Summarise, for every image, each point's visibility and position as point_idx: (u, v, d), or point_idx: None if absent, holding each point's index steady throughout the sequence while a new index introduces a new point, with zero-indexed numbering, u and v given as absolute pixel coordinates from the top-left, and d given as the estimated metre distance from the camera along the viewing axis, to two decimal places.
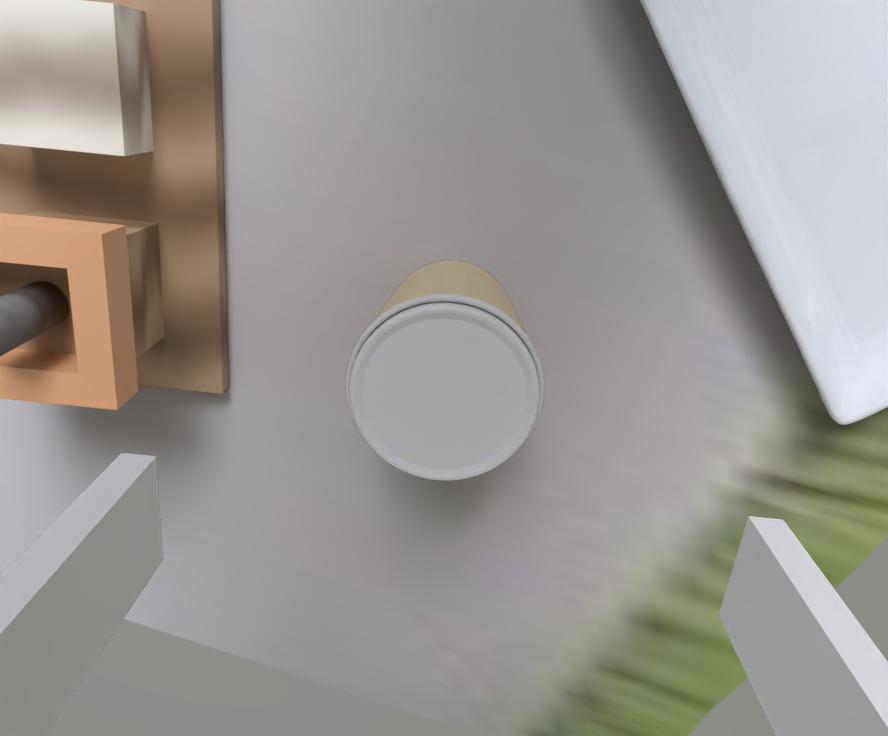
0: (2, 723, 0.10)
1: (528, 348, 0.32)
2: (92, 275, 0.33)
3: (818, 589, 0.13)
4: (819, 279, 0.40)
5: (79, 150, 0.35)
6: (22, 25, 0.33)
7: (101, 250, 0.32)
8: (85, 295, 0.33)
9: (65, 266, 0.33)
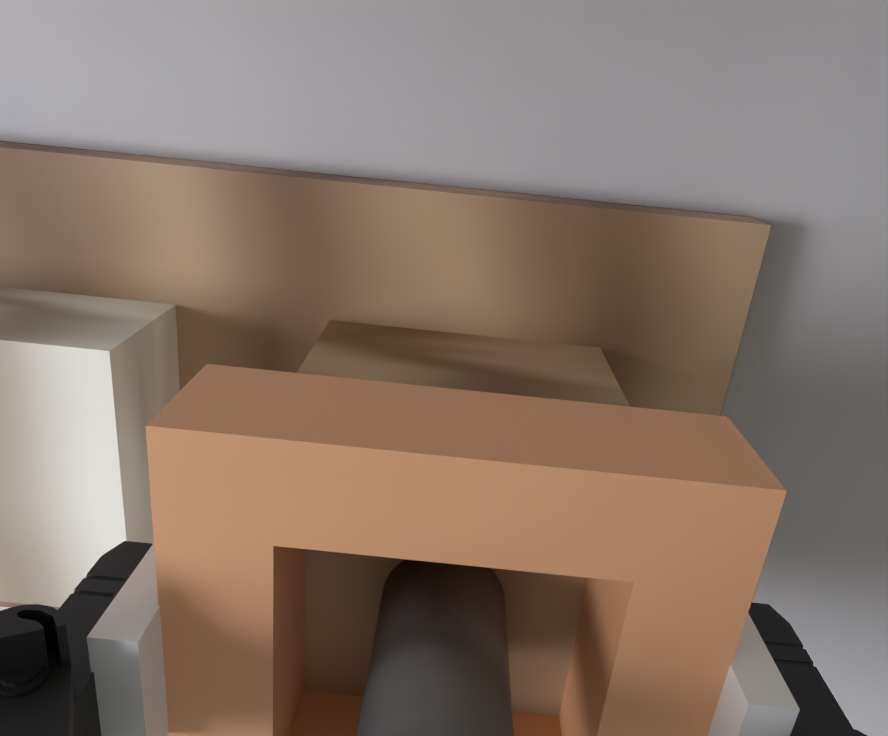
0: None
1: None
2: (289, 478, 0.10)
3: None
4: None
5: (115, 447, 0.15)
6: None
7: (200, 435, 0.10)
8: (358, 511, 0.10)
9: (267, 548, 0.10)
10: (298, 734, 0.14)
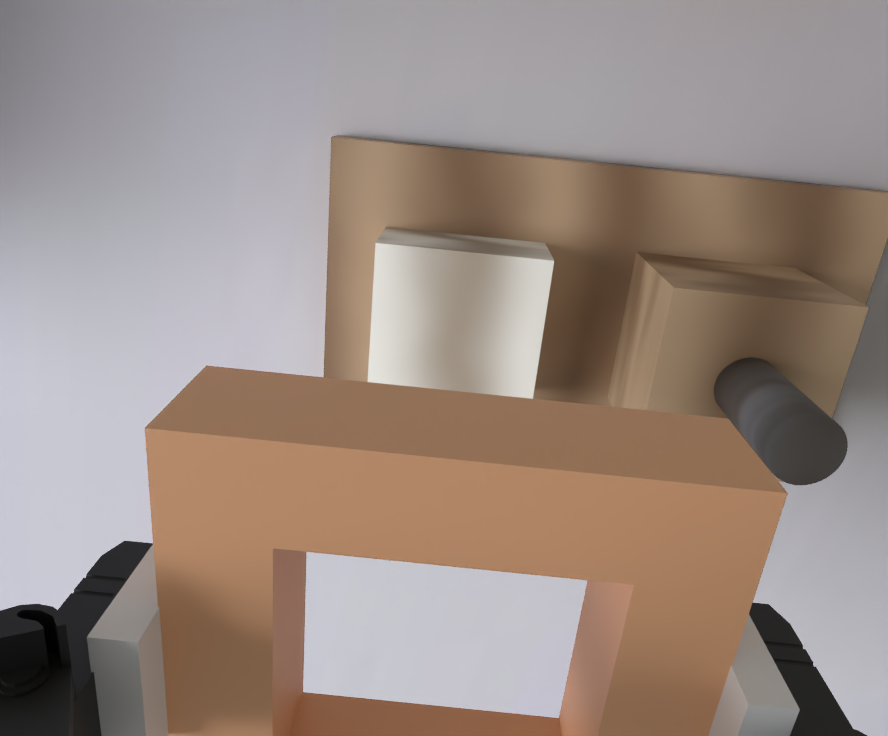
0: None
1: None
2: (288, 480, 0.10)
3: None
4: None
5: (544, 317, 0.28)
6: (401, 354, 0.29)
7: (199, 438, 0.10)
8: (358, 513, 0.10)
9: (266, 551, 0.10)
10: None
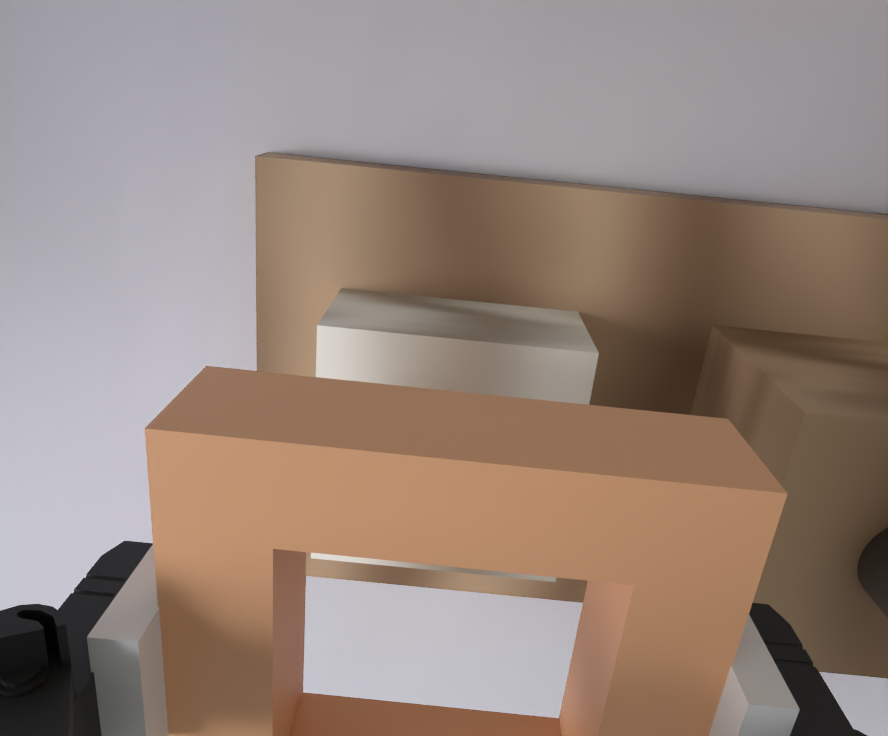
0: None
1: None
2: (288, 480, 0.10)
3: None
4: None
5: None
6: None
7: (199, 438, 0.10)
8: (358, 514, 0.10)
9: (266, 551, 0.10)
10: None
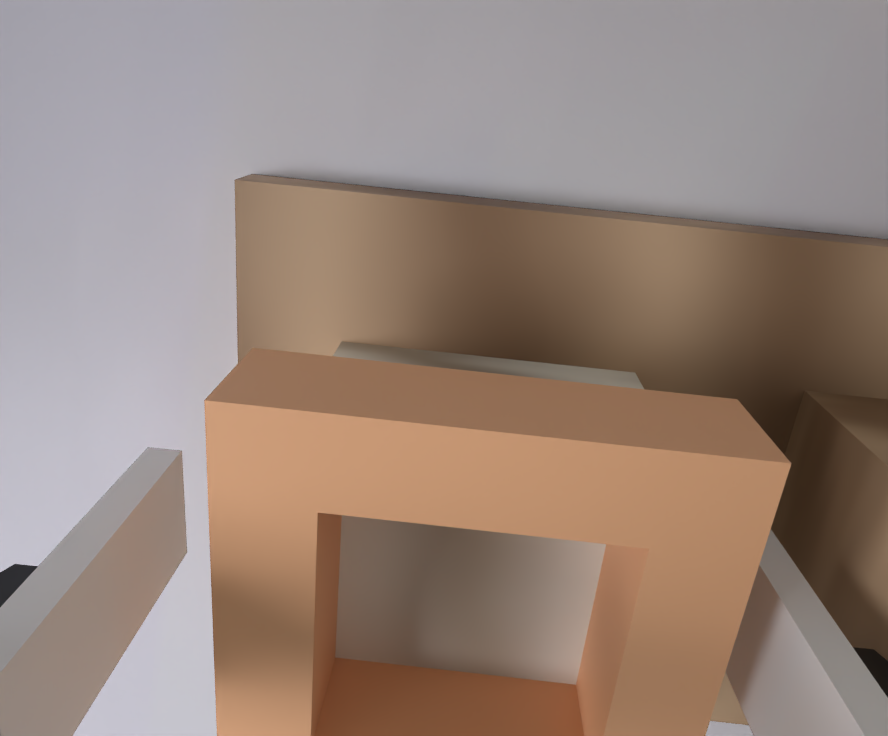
0: (43, 707, 0.11)
1: None
2: (334, 449, 0.11)
3: (787, 575, 0.13)
4: None
5: None
6: (364, 599, 0.15)
7: (254, 408, 0.11)
8: (396, 480, 0.11)
9: (311, 515, 0.11)
10: (332, 696, 0.14)
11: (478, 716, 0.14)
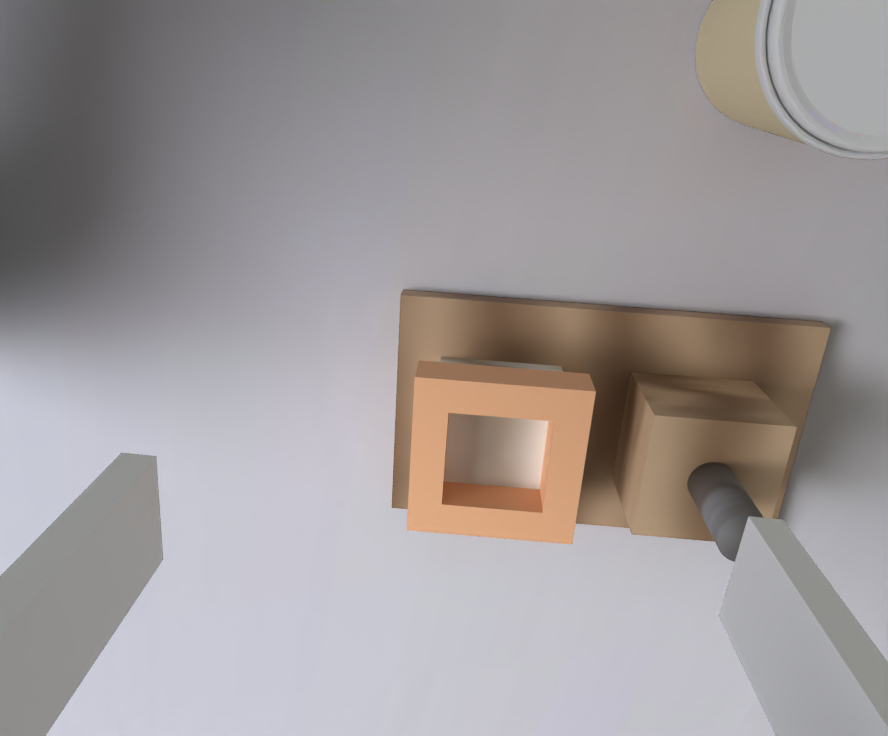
0: (2, 723, 0.10)
1: None
2: (454, 391, 0.35)
3: (818, 589, 0.13)
4: None
5: None
6: (456, 456, 0.39)
7: (430, 379, 0.34)
8: (473, 401, 0.35)
9: (446, 413, 0.35)
10: (445, 491, 0.38)
11: (501, 496, 0.38)
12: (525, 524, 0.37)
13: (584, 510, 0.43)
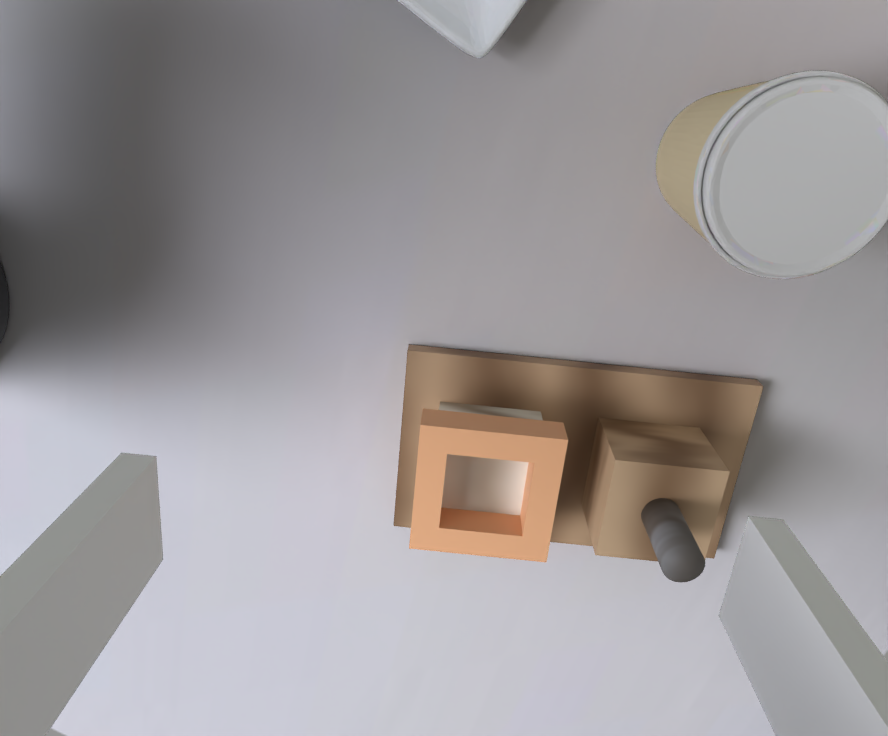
0: (3, 723, 0.10)
1: (763, 91, 0.31)
2: (452, 437, 0.42)
3: (818, 589, 0.13)
4: None
5: None
6: (451, 486, 0.46)
7: (432, 427, 0.42)
8: (468, 445, 0.42)
9: (445, 454, 0.43)
10: (442, 516, 0.46)
11: (488, 521, 0.46)
12: (508, 545, 0.45)
13: (557, 530, 0.51)
